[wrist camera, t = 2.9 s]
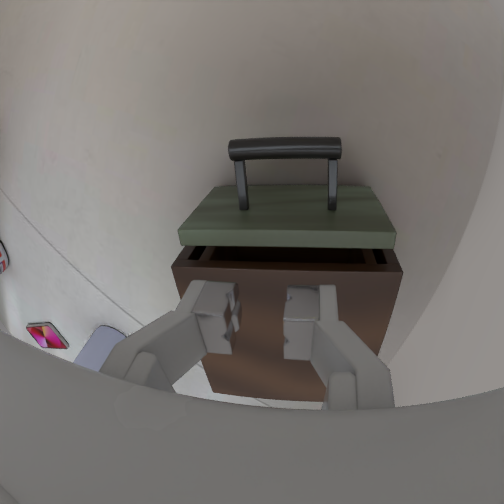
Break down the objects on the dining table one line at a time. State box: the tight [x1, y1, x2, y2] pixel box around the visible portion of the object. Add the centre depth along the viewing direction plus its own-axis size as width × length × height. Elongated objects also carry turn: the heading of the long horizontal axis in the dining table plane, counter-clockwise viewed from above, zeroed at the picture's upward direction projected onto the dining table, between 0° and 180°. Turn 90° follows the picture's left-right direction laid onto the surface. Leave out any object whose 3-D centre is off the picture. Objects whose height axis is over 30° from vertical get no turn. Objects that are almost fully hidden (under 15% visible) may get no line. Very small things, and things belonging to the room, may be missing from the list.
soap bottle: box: [73, 326, 126, 372], centre depth 34 cm, size 9×9×24 cm
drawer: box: [178, 137, 396, 264], centre depth 23 cm, size 20×14×8 cm
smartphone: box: [26, 323, 69, 349], centre depth 51 cm, size 7×1×15 cm
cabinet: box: [171, 246, 403, 402], centre depth 25 cm, size 16×15×10 cm
